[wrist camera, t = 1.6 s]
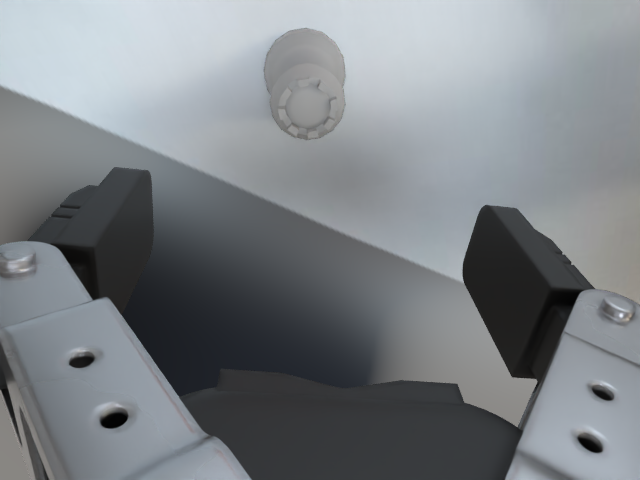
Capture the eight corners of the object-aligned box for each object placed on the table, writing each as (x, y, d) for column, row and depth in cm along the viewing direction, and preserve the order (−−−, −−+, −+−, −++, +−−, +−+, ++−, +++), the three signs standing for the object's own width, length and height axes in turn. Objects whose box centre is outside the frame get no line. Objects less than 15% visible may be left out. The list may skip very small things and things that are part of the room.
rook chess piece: (303, 125, 29) (306, 179, 22) (247, 68, 28) (231, 108, 21) (361, 71, 28) (383, 111, 21) (305, 7, 26) (310, 28, 19)
